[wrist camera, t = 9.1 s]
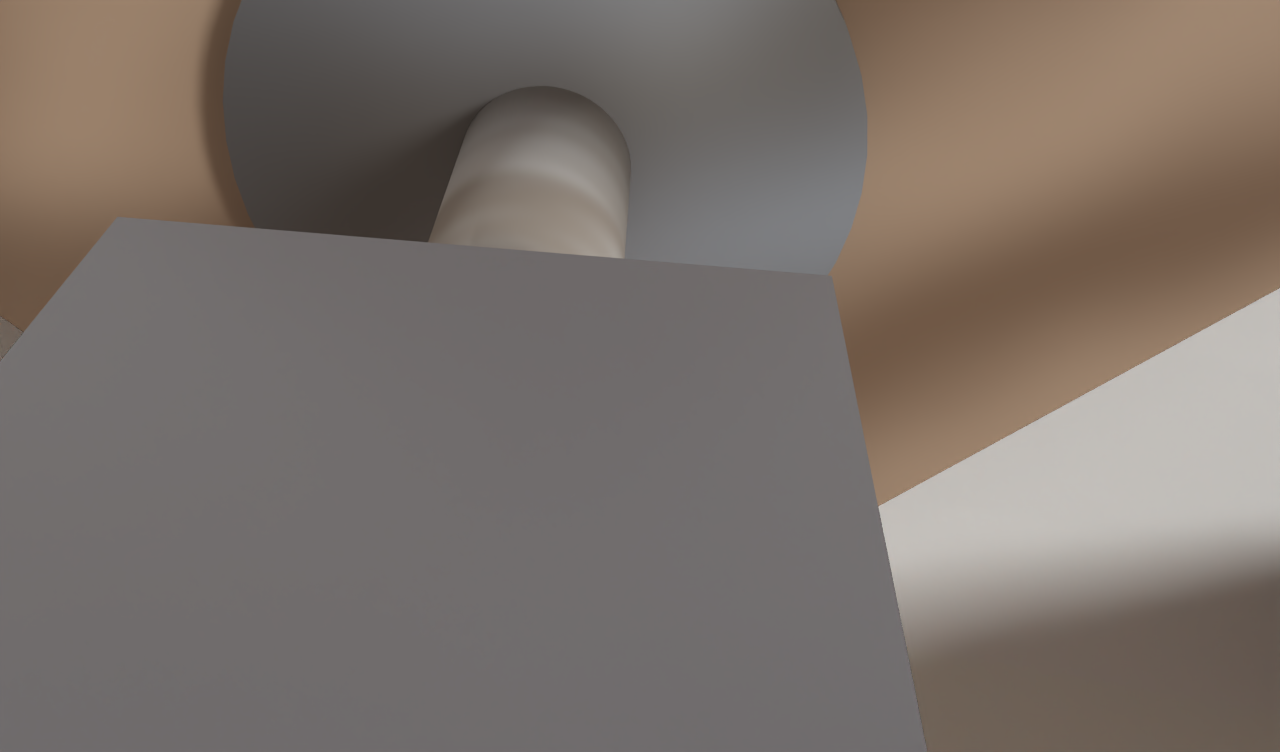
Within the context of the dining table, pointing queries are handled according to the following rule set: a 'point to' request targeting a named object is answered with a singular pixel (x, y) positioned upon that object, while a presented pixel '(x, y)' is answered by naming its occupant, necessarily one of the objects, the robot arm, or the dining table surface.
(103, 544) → the duct collar
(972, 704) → the dining table surface
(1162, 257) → the duct base
